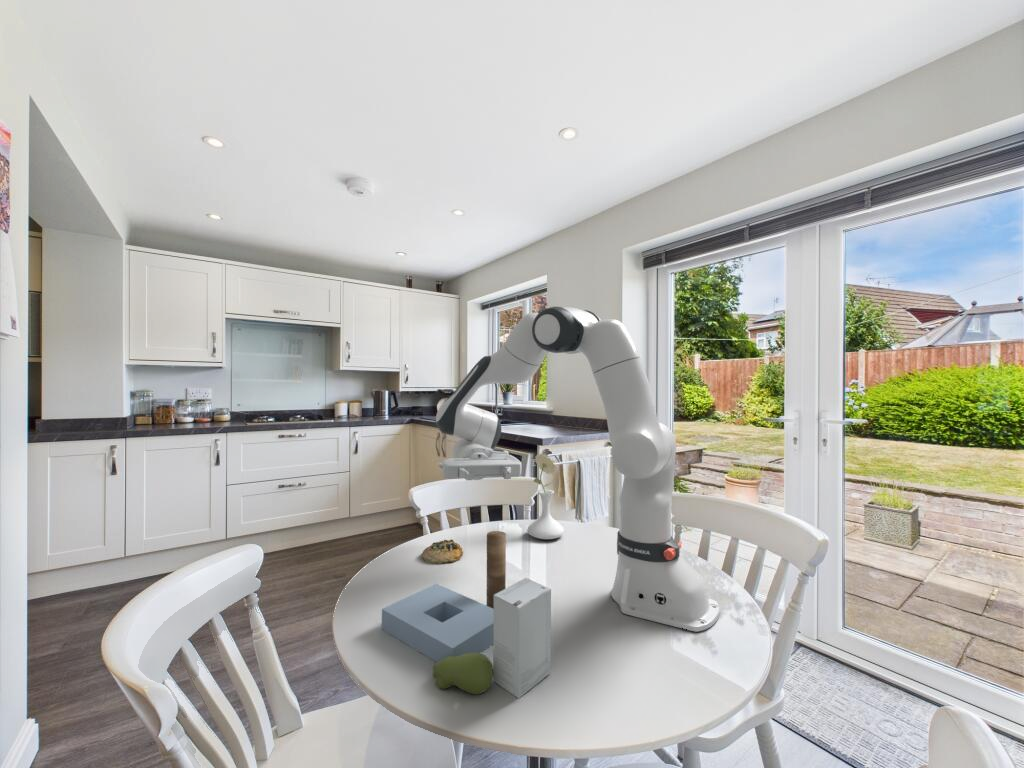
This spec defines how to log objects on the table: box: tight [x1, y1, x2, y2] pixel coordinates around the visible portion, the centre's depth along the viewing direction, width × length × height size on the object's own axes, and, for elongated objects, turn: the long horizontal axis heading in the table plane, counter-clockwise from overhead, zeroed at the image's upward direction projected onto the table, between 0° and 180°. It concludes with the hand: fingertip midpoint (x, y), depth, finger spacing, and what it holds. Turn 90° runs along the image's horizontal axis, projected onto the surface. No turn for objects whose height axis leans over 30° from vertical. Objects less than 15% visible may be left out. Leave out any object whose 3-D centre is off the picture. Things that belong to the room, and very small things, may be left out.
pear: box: [432, 653, 494, 695], centre depth 73 cm, size 6×5×10 cm
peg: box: [486, 530, 507, 609], centre depth 97 cm, size 4×4×16 cm
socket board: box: [381, 583, 494, 663], centre depth 89 cm, size 20×14×4 cm
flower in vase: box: [526, 453, 565, 540], centre depth 142 cm, size 13×11×25 cm
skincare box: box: [492, 577, 552, 699], centre depth 75 cm, size 8×6×15 cm
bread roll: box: [421, 539, 464, 565], centre depth 125 cm, size 11×11×5 cm
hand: (489, 476), depth 110 cm, fingers open, 8 cm apart
